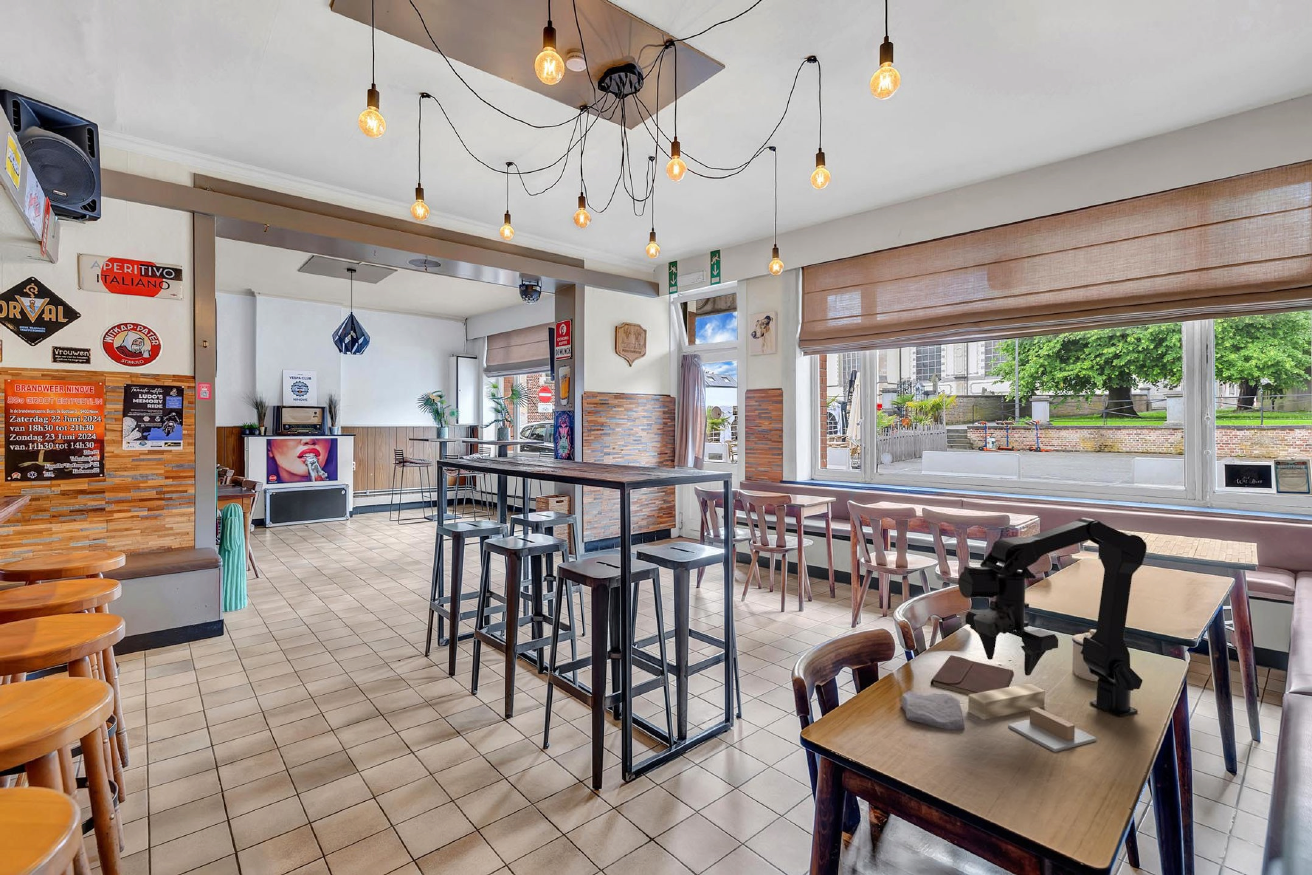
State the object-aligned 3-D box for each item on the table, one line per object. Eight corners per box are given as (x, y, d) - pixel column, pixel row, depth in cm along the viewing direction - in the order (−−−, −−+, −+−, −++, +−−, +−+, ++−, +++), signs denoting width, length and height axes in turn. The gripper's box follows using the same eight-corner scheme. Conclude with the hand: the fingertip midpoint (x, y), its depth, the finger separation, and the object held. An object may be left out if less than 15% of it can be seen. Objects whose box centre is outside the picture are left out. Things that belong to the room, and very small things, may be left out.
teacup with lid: (1113, 687, 146) (1115, 639, 145) (1068, 676, 152) (1069, 630, 151) (1118, 672, 155) (1119, 627, 154) (1075, 662, 161) (1076, 619, 160)
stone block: (968, 740, 124) (957, 709, 133) (969, 720, 123) (958, 690, 132) (906, 734, 127) (900, 704, 136) (906, 714, 126) (900, 685, 136)
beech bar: (1028, 700, 139) (1028, 683, 139) (1044, 708, 135) (1044, 690, 135) (968, 712, 133) (968, 694, 133) (983, 720, 129) (983, 702, 129)
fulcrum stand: (1048, 717, 130) (1048, 701, 130) (1096, 740, 121) (1096, 722, 121) (1008, 727, 126) (1008, 710, 126) (1054, 751, 116) (1055, 733, 116)
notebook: (1013, 676, 152) (1014, 668, 152) (1000, 704, 137) (1001, 696, 137) (949, 661, 162) (949, 654, 162) (930, 686, 146) (930, 678, 146)
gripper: (948, 589, 139) (946, 656, 139) (1022, 614, 122) (1021, 690, 122) (983, 585, 143) (982, 650, 143) (1061, 608, 126) (1059, 682, 126)
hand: (1008, 666), depth 134 cm, fingers open, 9 cm apart
